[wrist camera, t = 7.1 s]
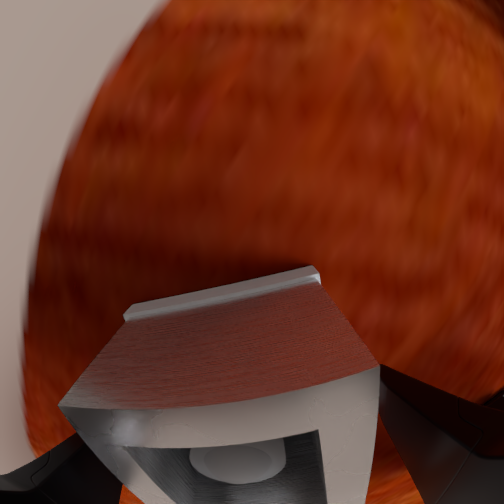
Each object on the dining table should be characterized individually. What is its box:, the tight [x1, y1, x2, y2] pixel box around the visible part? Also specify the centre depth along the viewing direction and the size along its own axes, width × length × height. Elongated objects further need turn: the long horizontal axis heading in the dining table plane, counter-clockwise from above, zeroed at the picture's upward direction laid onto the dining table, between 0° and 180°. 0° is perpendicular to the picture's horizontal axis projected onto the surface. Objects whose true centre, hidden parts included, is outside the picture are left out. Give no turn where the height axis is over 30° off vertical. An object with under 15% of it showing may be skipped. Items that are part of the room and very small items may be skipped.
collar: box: [58, 278, 380, 504], centre depth 7 cm, size 7×7×5 cm
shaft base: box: [123, 265, 321, 484], centre depth 8 cm, size 7×7×6 cm
